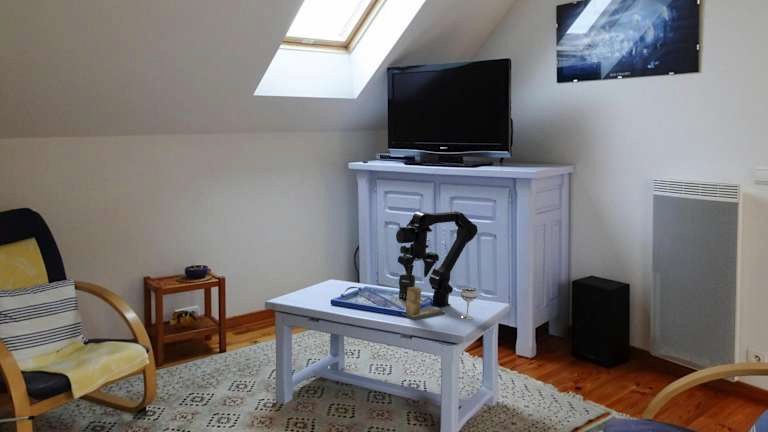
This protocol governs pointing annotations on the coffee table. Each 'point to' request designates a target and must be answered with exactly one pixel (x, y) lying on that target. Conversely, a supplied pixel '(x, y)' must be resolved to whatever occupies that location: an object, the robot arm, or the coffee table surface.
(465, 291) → the wineglass
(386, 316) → the coffee table surface
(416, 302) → the sleeve
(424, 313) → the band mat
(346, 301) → the coffee table surface
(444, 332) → the coffee table surface
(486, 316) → the coffee table surface
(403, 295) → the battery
